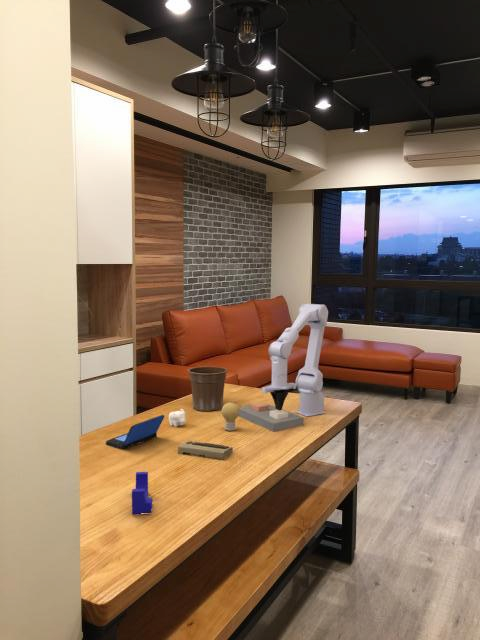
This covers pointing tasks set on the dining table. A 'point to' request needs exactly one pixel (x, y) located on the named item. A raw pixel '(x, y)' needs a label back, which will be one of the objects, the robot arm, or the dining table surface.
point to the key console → (270, 418)
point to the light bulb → (230, 415)
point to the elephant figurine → (177, 418)
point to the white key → (278, 414)
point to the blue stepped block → (141, 495)
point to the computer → (205, 450)
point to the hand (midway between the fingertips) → (278, 409)
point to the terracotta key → (260, 406)
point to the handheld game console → (137, 434)
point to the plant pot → (207, 387)
